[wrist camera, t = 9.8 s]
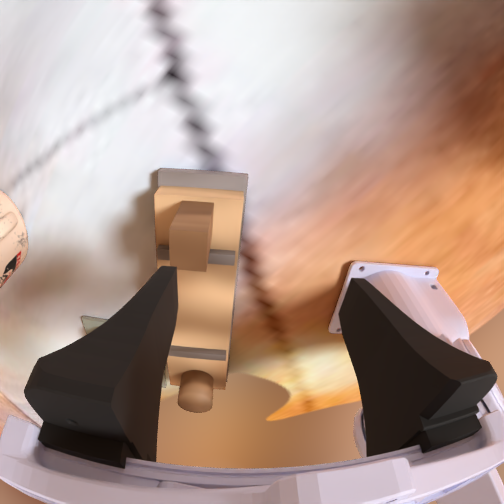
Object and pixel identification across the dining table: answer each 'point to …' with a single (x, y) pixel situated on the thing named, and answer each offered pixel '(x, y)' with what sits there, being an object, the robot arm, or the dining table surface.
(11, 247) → the teacup with lid
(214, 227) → the plane body
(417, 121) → the dining table surface
